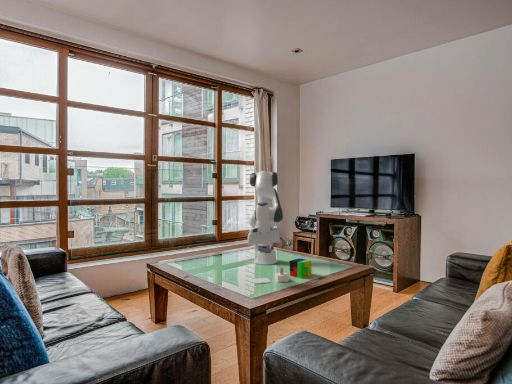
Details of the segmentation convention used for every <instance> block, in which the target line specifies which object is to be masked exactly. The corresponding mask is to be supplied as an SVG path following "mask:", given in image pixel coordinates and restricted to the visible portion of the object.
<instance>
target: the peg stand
mask: <svg viewBox="0 0 512 384" xmlns="http://www.w3.org/2000/svg"><path fill="white" fill-rule="evenodd" d="M278 271H279V272H274V280H275V281H276V282H277V283H285V282H286V283H287V282H289V281H290V278H289V277H290V274H288V273H287V272H285V271H284V267H283V266H282V267H281V266H280V267H279V270H278Z"/></svg>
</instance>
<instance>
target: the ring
mask: <svg viewBox="0 0 512 384" xmlns="http://www.w3.org/2000/svg"><path fill="white" fill-rule="evenodd" d="M257 247H258V246H257ZM258 248H260V251H259V252H260V253H263V252H270V248H269V247H268V246H265V247H258Z"/></svg>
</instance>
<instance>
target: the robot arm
mask: <svg viewBox="0 0 512 384" xmlns="http://www.w3.org/2000/svg"><path fill="white" fill-rule="evenodd" d="M279 181H280V178H279V175H278V173H277V172H275V171H266V170H261V171H259V172H258V171H257V172H251V174H250V175H249V177H248V182H249V184H250V186H251V187H253V188H255V191H256V193H257V197H256V198H257V203H256V206H255V210H254V211H253V212H254V213H251V214H250V215H249V216H248V224H249V225H250V228H249V229H248V234H247V244H249V246H251V245H254V247H255V248H256V253H255V254H254V257H255V258H254V264H256V265H268V266H269V265H274V264H276V263H279V260H278V259H277V253H276V251H275V250H274V249H275V248H274V247H275V245H274V244H278V243H280V241H281V239H280V229H279V228H277V227H278V226H280V225H281V224H282V221H283V219H284V210H283V209H282V205H281V202H280V197H279V194H278V191H277V189H276V188H274V187H275V186H277V185H278V184H279ZM265 246H268V247H269V248H270V252H263V253H260V252H259V251H260V248H258V247H265Z"/></svg>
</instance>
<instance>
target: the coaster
mask: <svg viewBox="0 0 512 384" xmlns="http://www.w3.org/2000/svg"><path fill="white" fill-rule="evenodd" d="M251 281H252V283H253V284H254V285H261V284H262V285H263V284H271V280H270V279H269V278H268V277H259V278H251Z"/></svg>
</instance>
